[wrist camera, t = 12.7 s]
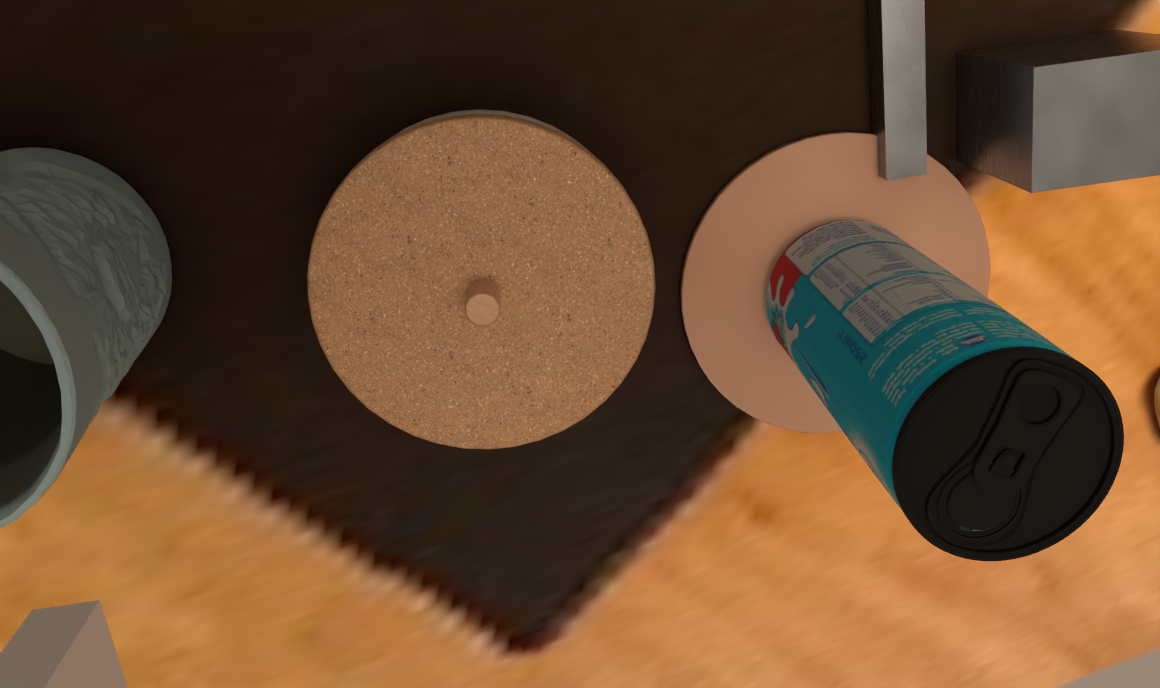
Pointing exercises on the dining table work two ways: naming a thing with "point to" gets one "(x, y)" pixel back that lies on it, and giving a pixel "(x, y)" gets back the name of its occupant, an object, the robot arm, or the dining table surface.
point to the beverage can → (945, 393)
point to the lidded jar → (481, 280)
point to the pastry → (1157, 401)
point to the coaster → (773, 222)
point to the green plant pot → (67, 307)
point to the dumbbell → (1021, 104)
